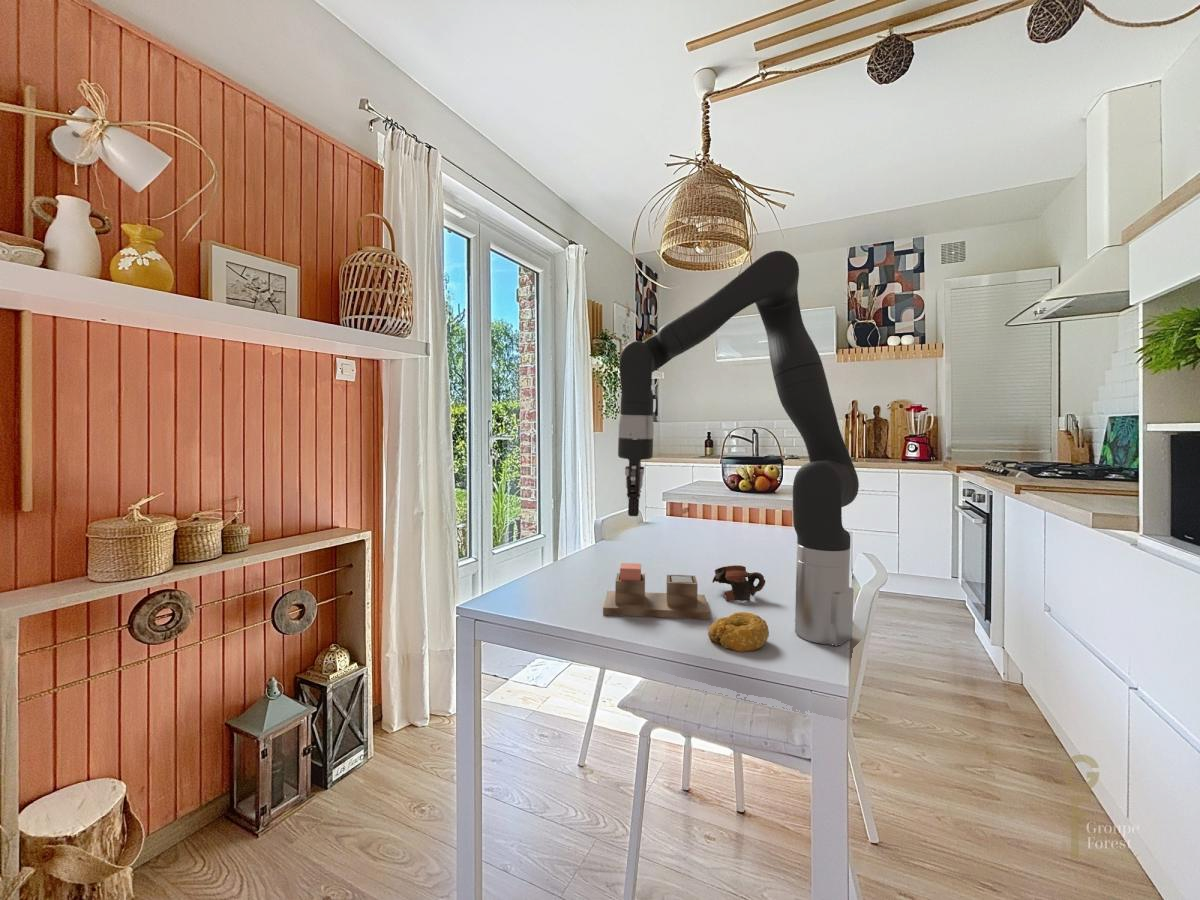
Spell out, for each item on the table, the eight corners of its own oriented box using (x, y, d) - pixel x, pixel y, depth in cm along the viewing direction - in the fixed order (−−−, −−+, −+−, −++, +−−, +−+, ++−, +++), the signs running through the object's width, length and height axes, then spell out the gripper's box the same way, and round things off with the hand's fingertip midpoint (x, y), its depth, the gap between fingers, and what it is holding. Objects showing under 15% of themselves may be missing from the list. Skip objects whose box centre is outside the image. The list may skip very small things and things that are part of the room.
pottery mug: (712, 603, 118) (707, 567, 122) (721, 609, 126) (715, 575, 130) (766, 595, 114) (759, 559, 118) (772, 603, 122) (765, 568, 126)
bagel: (711, 628, 103) (711, 604, 103) (770, 636, 99) (770, 611, 99) (703, 648, 94) (703, 622, 93) (767, 658, 90) (768, 630, 90)
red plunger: (640, 585, 116) (641, 563, 116) (640, 592, 111) (640, 569, 111) (621, 585, 116) (621, 562, 116) (619, 591, 112) (620, 568, 112)
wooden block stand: (704, 601, 118) (704, 572, 118) (709, 619, 107) (710, 587, 107) (607, 597, 120) (607, 569, 120) (603, 614, 109) (603, 583, 109)
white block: (690, 598, 115) (691, 576, 115) (692, 605, 111) (692, 582, 110) (670, 598, 115) (671, 575, 115) (671, 604, 111) (671, 581, 111)
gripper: (621, 434, 120) (618, 509, 121) (615, 437, 107) (613, 520, 108) (653, 435, 119) (651, 511, 120) (652, 438, 106) (649, 522, 107)
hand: (633, 515), depth 114 cm, fingers closed
